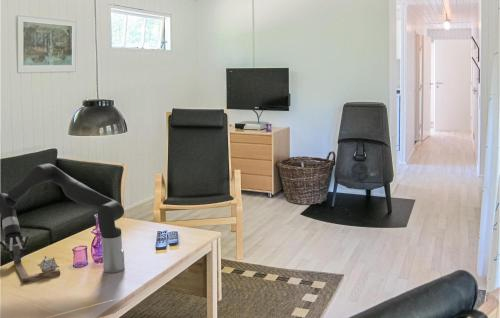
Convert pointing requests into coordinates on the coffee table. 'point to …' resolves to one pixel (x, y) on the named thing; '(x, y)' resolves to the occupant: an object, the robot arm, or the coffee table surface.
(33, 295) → the coffee table surface
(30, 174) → the robot arm
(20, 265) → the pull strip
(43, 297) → the coffee table surface
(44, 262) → the grey spiky ball
